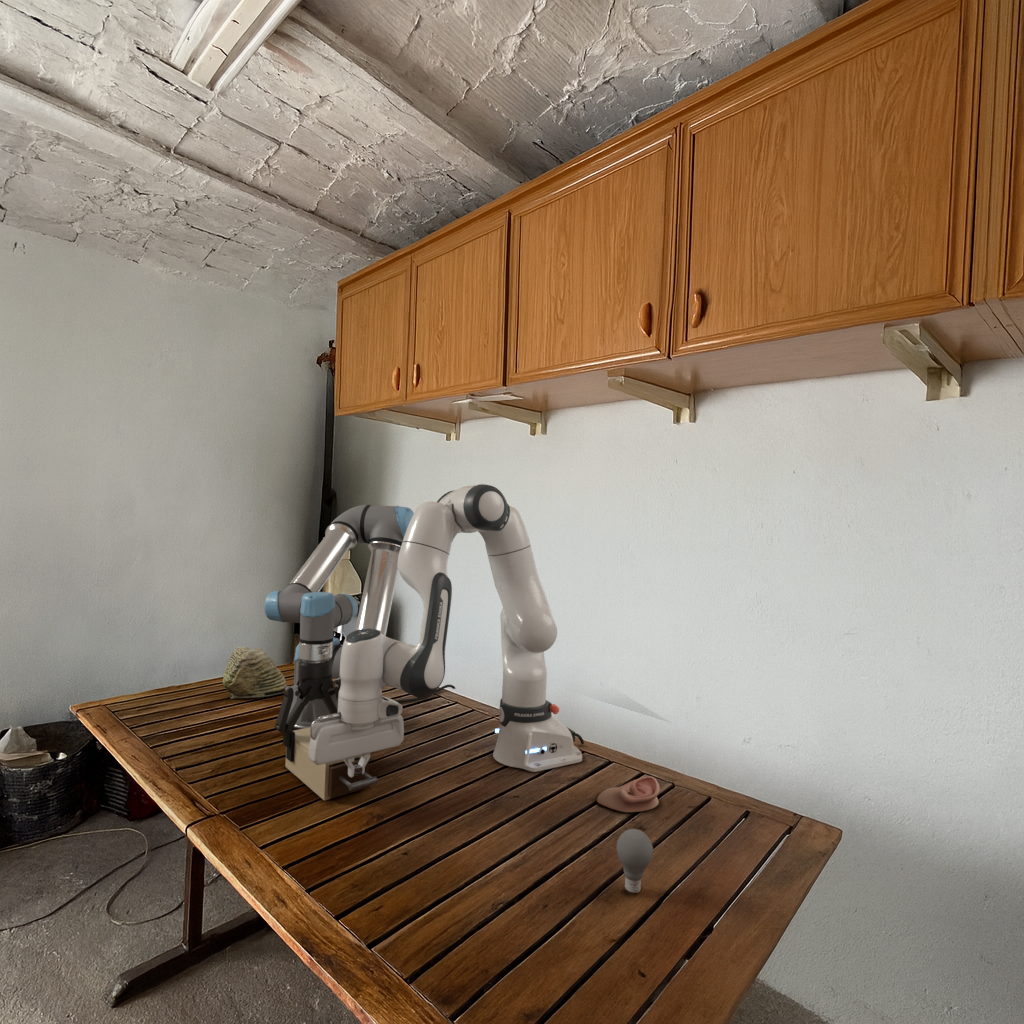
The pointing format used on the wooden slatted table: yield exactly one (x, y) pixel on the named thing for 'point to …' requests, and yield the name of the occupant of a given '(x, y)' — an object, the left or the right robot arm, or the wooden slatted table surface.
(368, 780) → the drawer
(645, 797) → the anatomical model
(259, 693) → the fossil
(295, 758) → the cabinet
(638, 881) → the light bulb
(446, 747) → the wooden slatted table surface
